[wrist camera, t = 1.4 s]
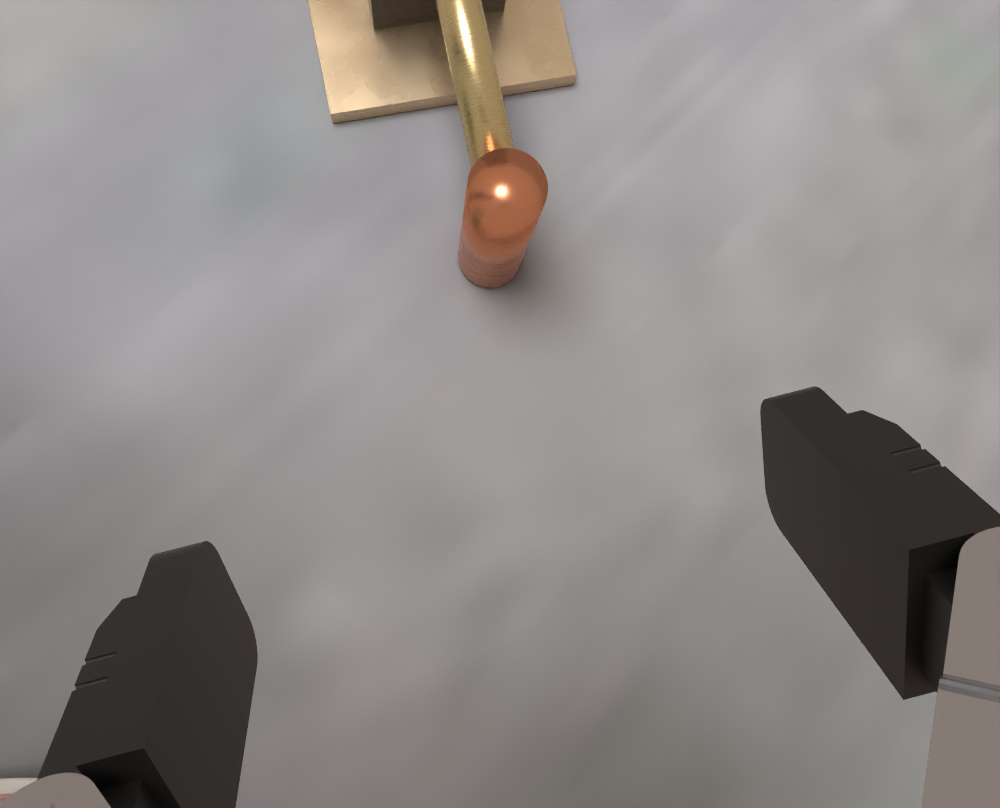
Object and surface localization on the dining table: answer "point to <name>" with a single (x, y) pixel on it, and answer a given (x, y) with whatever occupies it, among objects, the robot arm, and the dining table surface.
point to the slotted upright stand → (429, 53)
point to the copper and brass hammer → (489, 155)
